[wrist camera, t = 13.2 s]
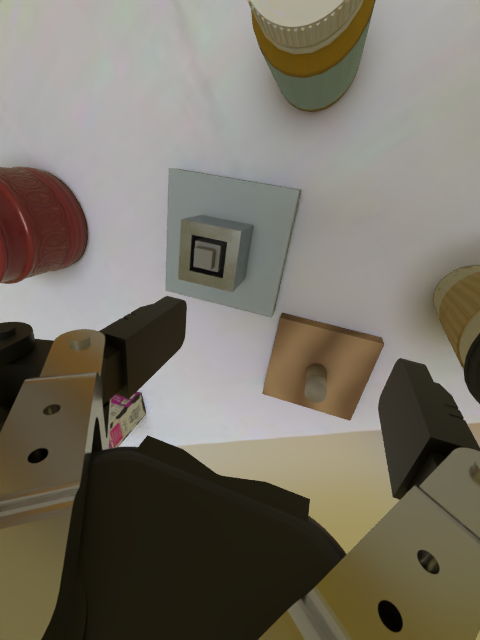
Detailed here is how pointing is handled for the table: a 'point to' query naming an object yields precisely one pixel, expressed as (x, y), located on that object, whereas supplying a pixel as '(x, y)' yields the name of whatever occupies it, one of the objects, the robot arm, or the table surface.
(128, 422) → the candy bar box
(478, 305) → the coffee cup
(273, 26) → the bottle
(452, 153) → the table surface
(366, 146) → the table surface
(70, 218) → the canister
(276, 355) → the stand
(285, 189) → the square plate
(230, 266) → the recessed metal cube
